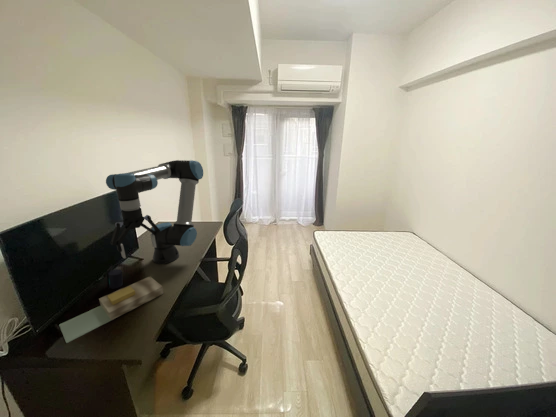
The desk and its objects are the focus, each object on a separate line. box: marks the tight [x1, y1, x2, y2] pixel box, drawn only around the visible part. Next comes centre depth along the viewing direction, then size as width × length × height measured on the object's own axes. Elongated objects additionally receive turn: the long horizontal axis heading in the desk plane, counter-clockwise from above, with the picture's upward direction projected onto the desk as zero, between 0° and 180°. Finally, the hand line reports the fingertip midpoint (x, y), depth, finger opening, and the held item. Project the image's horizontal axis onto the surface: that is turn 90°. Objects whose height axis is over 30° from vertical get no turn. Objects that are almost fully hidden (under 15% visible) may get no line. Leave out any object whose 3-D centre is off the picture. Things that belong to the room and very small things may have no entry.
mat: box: [58, 305, 112, 344], centre depth 91 cm, size 14×14×1 cm
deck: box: [98, 276, 165, 321], centre depth 104 cm, size 22×14×4 cm, turn 142°
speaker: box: [106, 265, 124, 290], centre depth 113 cm, size 8×6×10 cm
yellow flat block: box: [107, 285, 135, 305], centre depth 100 cm, size 9×6×2 cm, turn 142°
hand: (140, 251), depth 103 cm, fingers open, 12 cm apart
